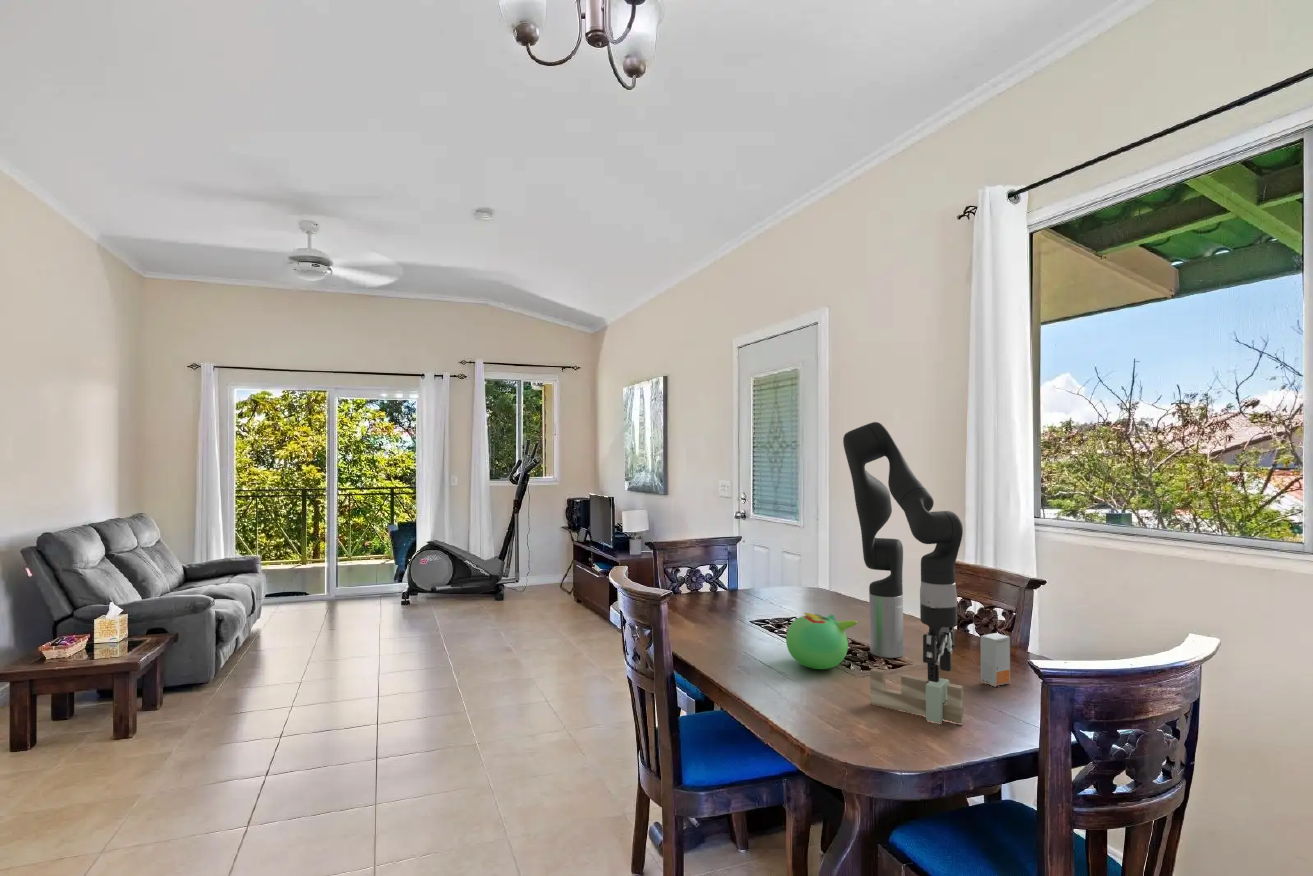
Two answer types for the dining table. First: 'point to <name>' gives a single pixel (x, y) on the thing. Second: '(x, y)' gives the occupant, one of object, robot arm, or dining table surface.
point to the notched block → (936, 699)
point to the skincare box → (995, 658)
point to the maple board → (914, 696)
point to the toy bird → (818, 640)
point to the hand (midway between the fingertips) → (939, 675)
